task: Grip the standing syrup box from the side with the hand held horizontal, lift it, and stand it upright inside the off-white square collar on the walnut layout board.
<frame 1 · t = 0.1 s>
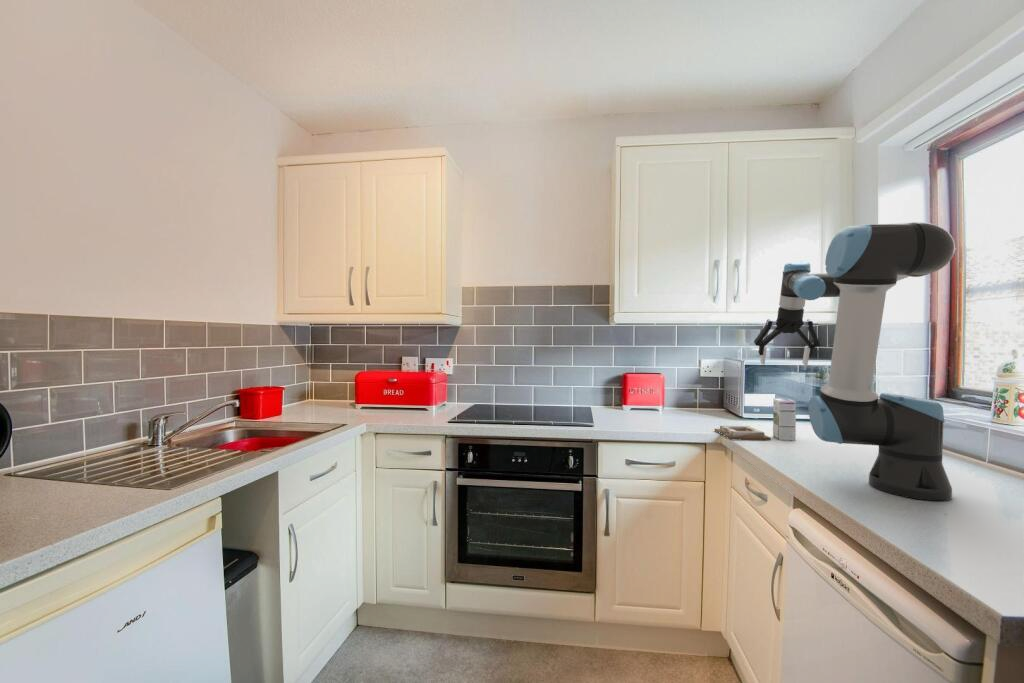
hand: (783, 363, 157), 28 cm above the countertop, tool tilted 20°, fingers open, 13 cm apart
syrup box: (783, 439, 160), on the countertop
layout board: (741, 435, 164), on the countertop
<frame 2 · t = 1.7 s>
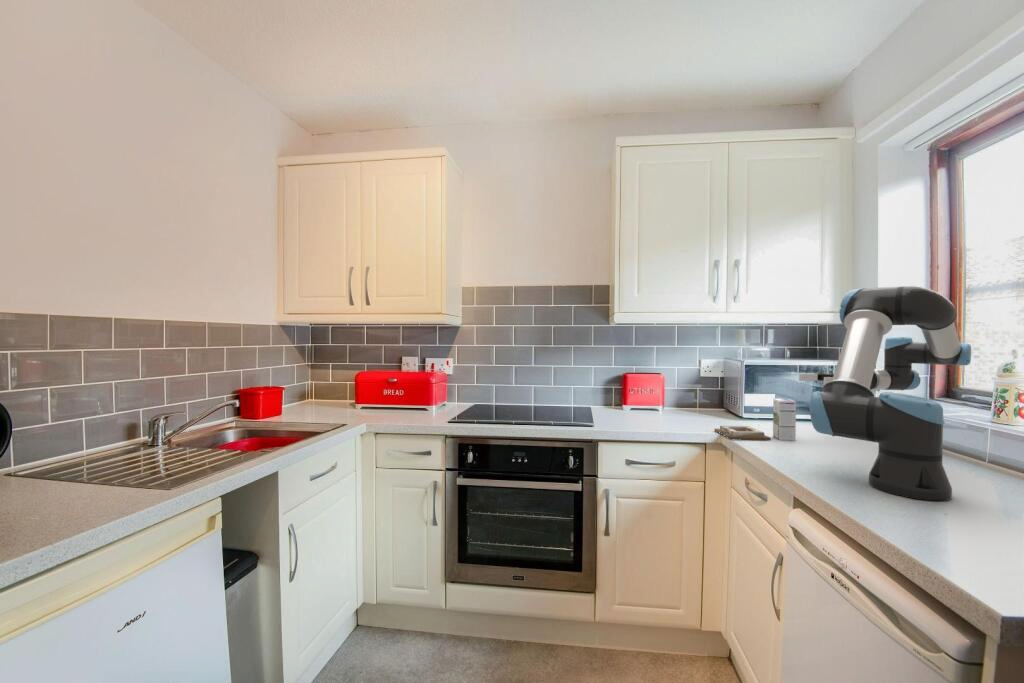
hand: (811, 379, 159), 22 cm above the countertop, tool horizontal, fingers open, 13 cm apart
nothing on the countertop moved.
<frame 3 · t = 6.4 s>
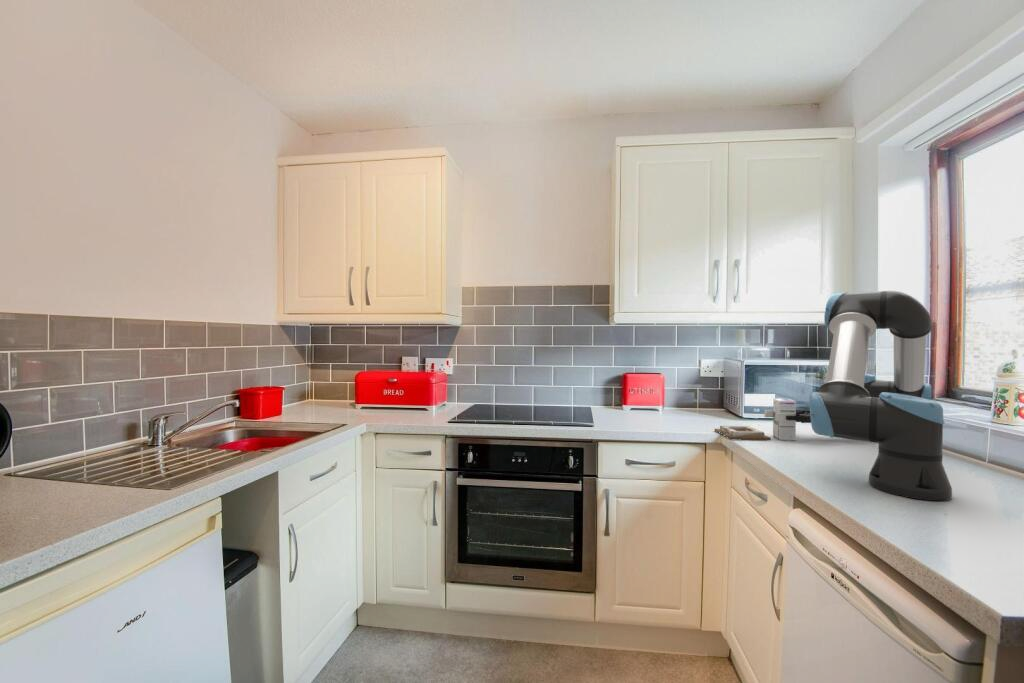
hand: (770, 415, 160), 9 cm above the countertop, tool horizontal, fingers closed on syrup box, 6 cm apart
syrup box: (783, 439, 160), on the countertop, touching gripper
when the fingers open (10 cm above the countertop, at t = 11.8 s): syrup box stays where it is, resting on layout board.
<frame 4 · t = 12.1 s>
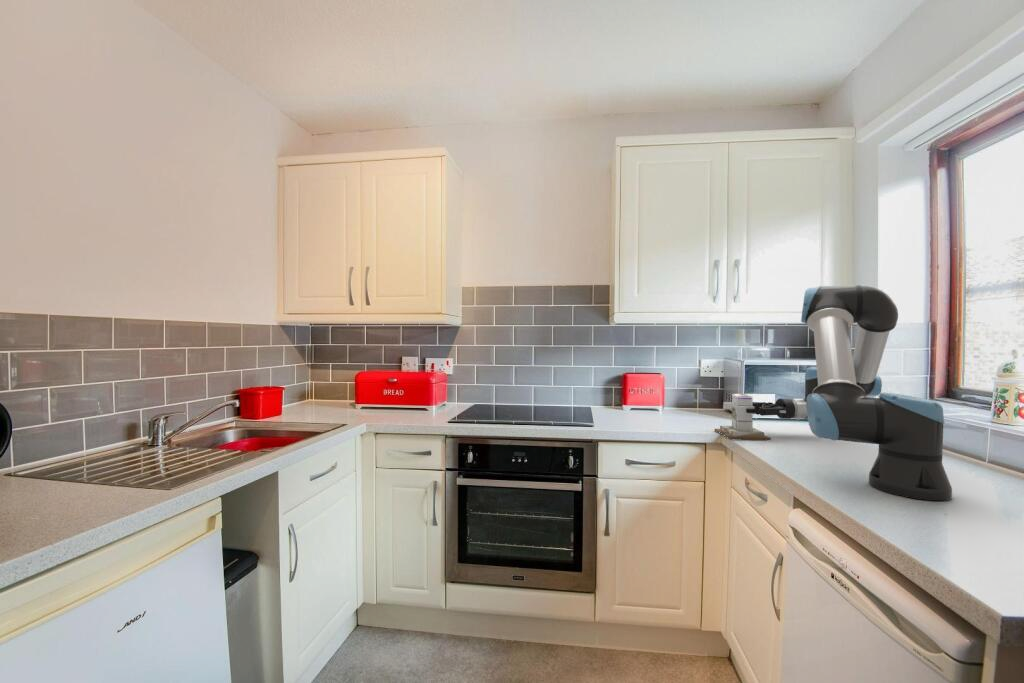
hand: (729, 407, 163), 10 cm above the countertop, tool horizontal, fingers open, 9 cm apart
syrup box: (741, 433, 163), point 1 cm above the countertop, touching layout board
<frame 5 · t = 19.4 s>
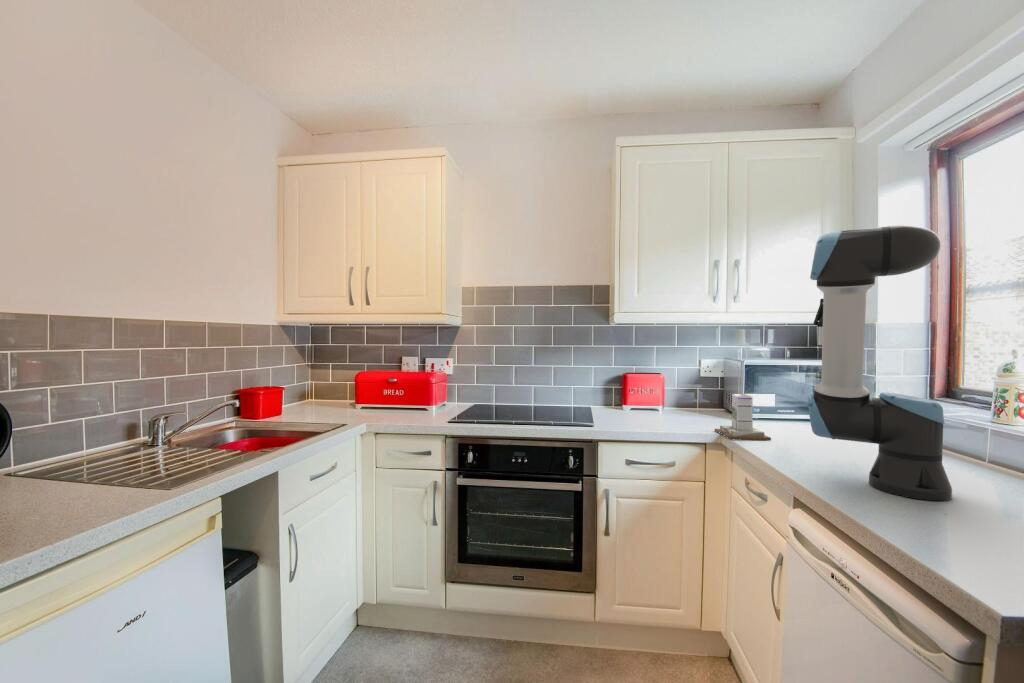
hand: (836, 345, 147), 35 cm above the countertop, tool pointing down, fingers open, 13 cm apart
nothing on the countertop moved.
at the end: syrup box 0.1 cm off-centre on the layout board, point 0.8 cm above the layout board's base; syrup box tilted 0°; the gripper is holding nothing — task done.
